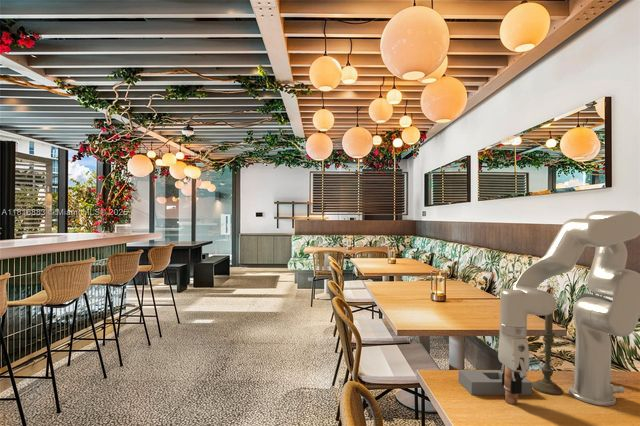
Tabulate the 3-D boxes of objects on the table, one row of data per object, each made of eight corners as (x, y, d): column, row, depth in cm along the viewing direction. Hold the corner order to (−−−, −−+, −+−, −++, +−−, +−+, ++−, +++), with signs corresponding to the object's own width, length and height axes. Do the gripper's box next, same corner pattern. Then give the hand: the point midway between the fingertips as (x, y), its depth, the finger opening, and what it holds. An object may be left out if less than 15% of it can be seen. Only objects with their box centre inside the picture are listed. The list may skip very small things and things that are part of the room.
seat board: (514, 381, 139) (514, 370, 139) (531, 394, 129) (532, 382, 129) (458, 381, 137) (458, 369, 137) (471, 394, 127) (471, 382, 127)
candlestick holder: (550, 396, 128) (553, 302, 128) (525, 385, 136) (527, 296, 136) (569, 392, 132) (572, 301, 132) (543, 381, 140) (546, 295, 140)
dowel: (513, 398, 125) (514, 360, 125) (521, 404, 121) (522, 365, 121) (501, 398, 125) (501, 360, 125) (508, 405, 121) (509, 365, 121)
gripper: (541, 338, 115) (540, 402, 115) (509, 322, 132) (508, 378, 132) (516, 338, 115) (514, 402, 115) (487, 322, 131) (486, 378, 131)
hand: (511, 389), depth 123 cm, fingers closed on dowel, 4 cm apart
